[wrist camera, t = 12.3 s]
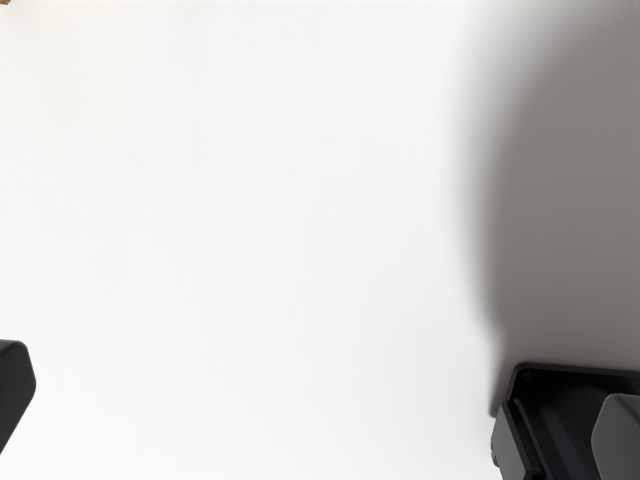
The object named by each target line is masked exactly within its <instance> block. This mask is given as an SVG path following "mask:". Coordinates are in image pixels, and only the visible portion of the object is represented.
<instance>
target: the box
mask: <svg viewBox="0 0 640 480" xmlns="http://www.w3.org/2000/svg"><path fill="white" fill-rule="evenodd" d="M9 2H10V0H0V4H6V5H8V3H9Z"/></svg>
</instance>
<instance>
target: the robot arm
mask: <svg viewBox="0 0 640 480" xmlns="http://www.w3.org/2000/svg"><path fill="white" fill-rule="evenodd" d="M525 372H529V374H527V375H522V374H524V373H525ZM35 390H36V378H35V375H34V371H33V367H32V363H31V360H30V356H29V352H28V349H27V346H26V345H25V344H24V343H23V342H20V341H15V340H4V339H0V454H1V453H2V451H3V449H4V447H5V446H6V444H7V442H8V440H9V439H10V437H11V435H12V433H13V432H14V430H15V428H16V426H17V425H18V423H19V421H20V419H21V418H22V416H23V414H24V412H25V411H26V409H27V407H28V405H29V404H30V402H31V400H32V398H33V396H34V393H35ZM491 443H492V446H493V449H492V453H491V457H492V460H493V463H494V465H495V466H497V467H499V468H500V471H501V475H502V478H503V480H640V372H631V371H619V370H608V369H596V368H585V367H573V366H562V365H550V364H539V363H527V362H526V363H520V364H518V365H517V366H516V367H515V368H514V370H513V374H512V378H511V382H510V386H509V389H508V393H507V397H506V400H504V401H503V402H502V403H501V404H500V406H499V410H498V414H497V418H496V422H495V426H494V429H493V433H492V437H491Z"/></svg>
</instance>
